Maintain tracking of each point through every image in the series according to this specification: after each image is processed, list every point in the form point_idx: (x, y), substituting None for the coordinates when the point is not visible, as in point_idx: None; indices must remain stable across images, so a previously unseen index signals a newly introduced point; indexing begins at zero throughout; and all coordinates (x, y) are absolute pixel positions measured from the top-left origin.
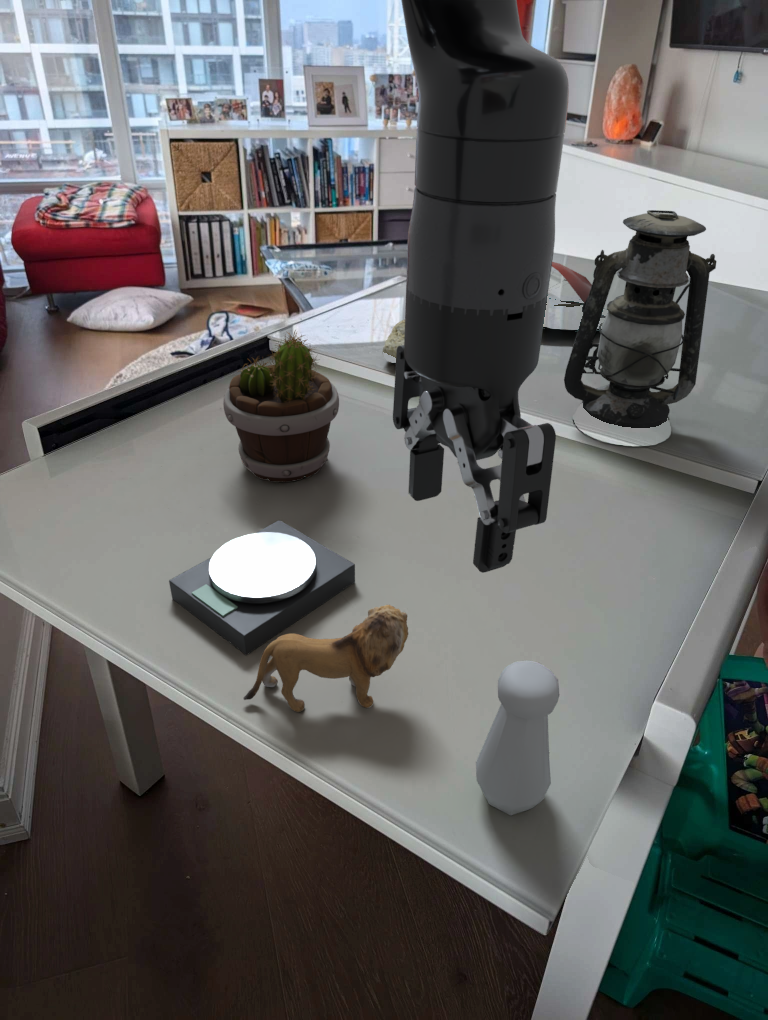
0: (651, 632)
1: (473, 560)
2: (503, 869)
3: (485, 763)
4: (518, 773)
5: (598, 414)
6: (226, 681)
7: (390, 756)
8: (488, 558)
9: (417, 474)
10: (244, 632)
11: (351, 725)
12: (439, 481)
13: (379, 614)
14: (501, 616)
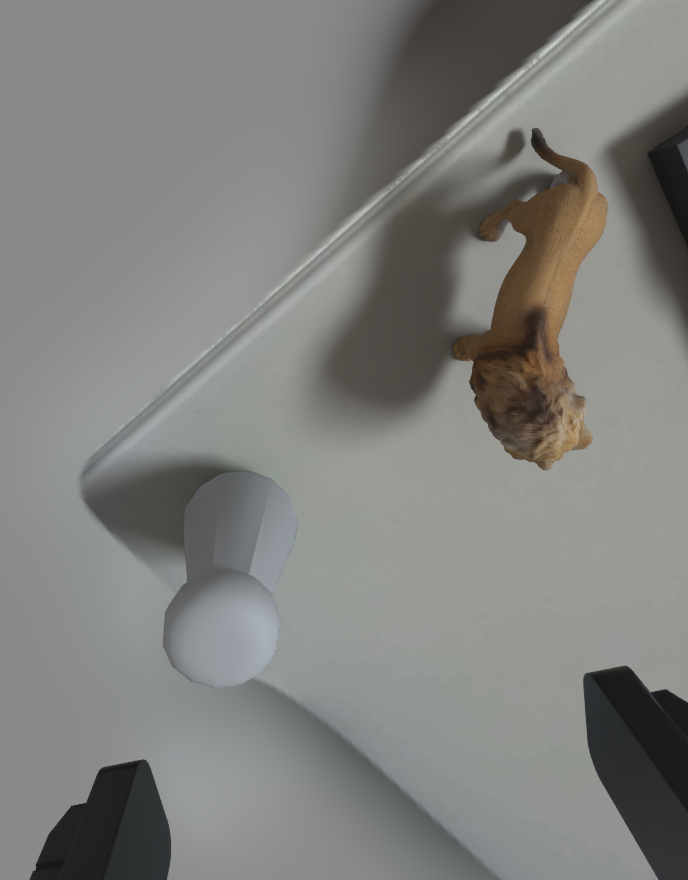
0: (463, 801)
1: (131, 773)
2: (131, 458)
3: (234, 494)
4: (186, 536)
5: None
6: (595, 103)
7: (349, 358)
8: (70, 838)
9: (647, 766)
10: (685, 147)
11: (426, 312)
12: (619, 803)
13: (554, 416)
14: (573, 615)
